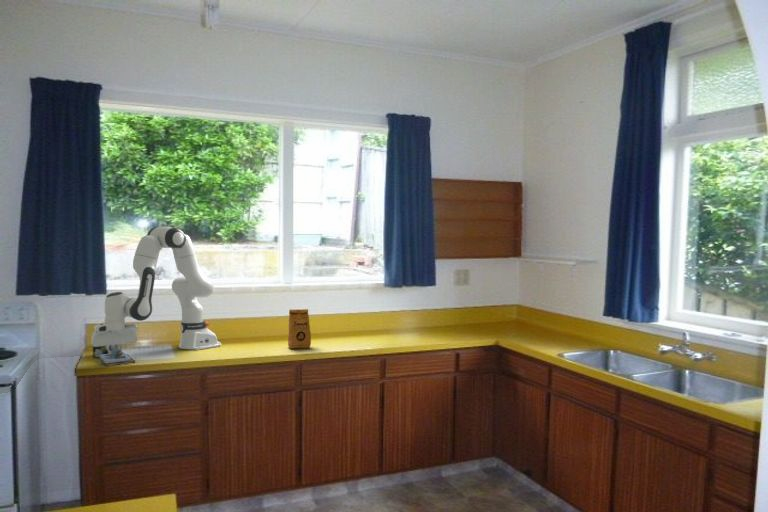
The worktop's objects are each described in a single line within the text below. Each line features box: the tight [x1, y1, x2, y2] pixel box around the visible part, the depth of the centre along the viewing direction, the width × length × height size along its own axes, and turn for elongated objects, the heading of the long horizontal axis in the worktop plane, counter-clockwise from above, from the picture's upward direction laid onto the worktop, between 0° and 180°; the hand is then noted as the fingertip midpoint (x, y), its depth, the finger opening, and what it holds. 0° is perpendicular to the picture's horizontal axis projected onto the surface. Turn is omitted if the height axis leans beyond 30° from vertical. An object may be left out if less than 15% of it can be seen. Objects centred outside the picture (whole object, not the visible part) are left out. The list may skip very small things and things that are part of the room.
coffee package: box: [287, 308, 312, 350], centre depth 305 cm, size 10×12×22 cm
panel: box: [99, 346, 132, 364], centre depth 266 cm, size 11×15×5 cm
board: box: [101, 350, 136, 368], centre depth 267 cm, size 12×16×5 cm
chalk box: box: [92, 344, 119, 358], centre depth 279 cm, size 9×9×15 cm
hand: (114, 353), depth 267 cm, fingers closed on panel, 3 cm apart
